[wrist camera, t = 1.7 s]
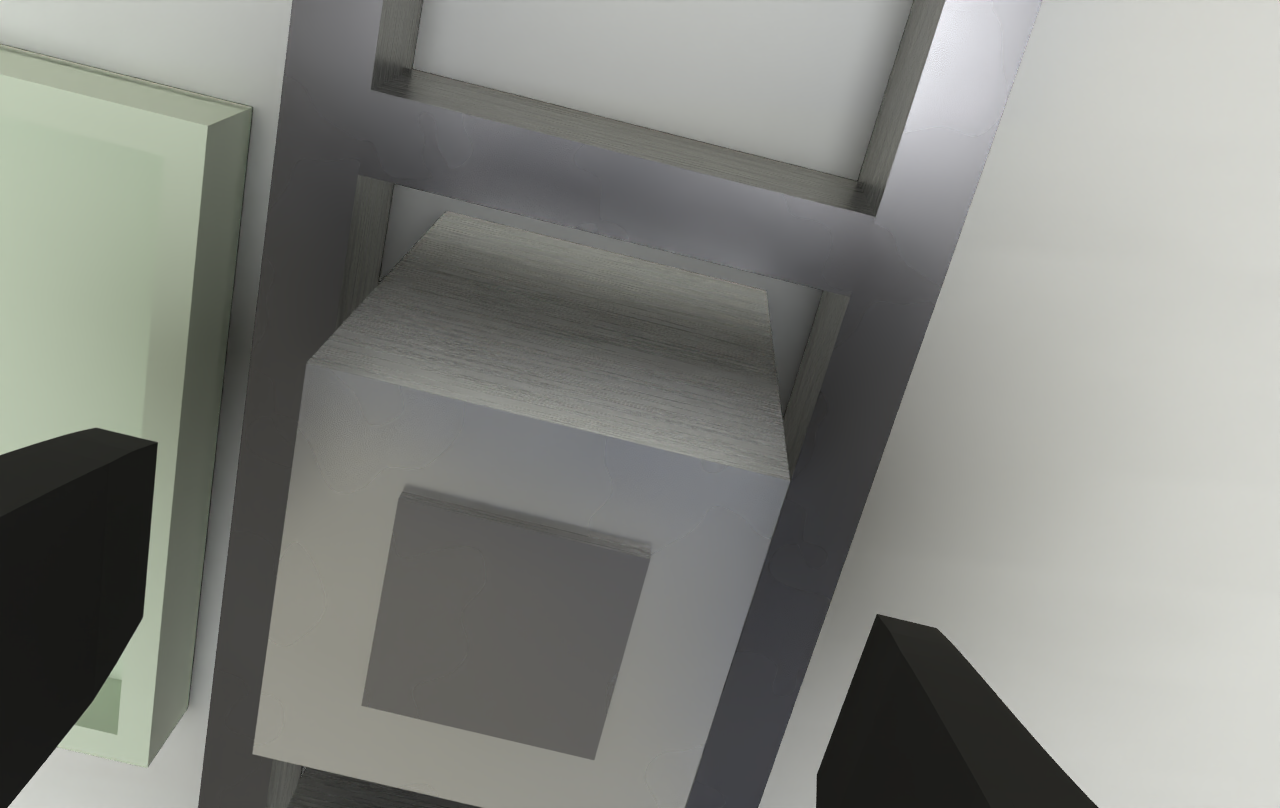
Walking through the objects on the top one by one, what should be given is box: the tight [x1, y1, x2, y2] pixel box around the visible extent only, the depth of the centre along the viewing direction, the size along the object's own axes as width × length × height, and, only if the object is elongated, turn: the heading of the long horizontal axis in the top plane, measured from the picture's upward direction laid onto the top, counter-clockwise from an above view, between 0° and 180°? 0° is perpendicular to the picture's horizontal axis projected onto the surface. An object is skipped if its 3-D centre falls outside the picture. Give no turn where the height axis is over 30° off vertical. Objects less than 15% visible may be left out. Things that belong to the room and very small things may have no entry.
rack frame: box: [198, 0, 1042, 808], centre depth 16 cm, size 22×8×2 cm, turn 167°
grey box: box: [253, 211, 790, 808], centre depth 14 cm, size 4×4×6 cm
